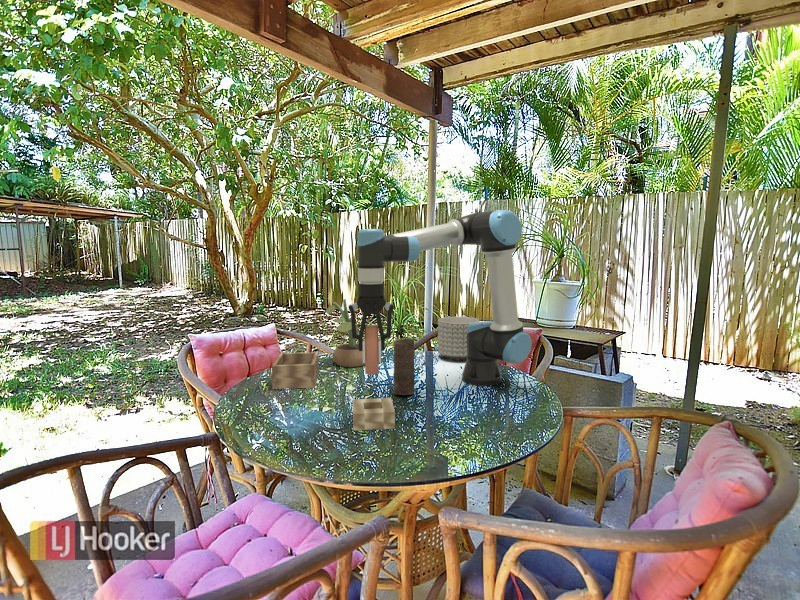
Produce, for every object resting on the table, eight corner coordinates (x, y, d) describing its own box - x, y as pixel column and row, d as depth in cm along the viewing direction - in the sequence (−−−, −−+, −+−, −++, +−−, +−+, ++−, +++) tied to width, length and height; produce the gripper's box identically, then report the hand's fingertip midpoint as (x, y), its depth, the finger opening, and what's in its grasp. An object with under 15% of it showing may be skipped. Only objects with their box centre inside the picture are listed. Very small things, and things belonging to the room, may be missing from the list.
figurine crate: (318, 373, 186) (318, 352, 184) (314, 388, 166) (314, 364, 165) (281, 374, 184) (280, 353, 183) (272, 389, 165) (271, 366, 164)
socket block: (391, 413, 141) (391, 397, 141) (394, 428, 129) (394, 411, 129) (353, 414, 140) (353, 399, 139) (353, 430, 128) (352, 413, 127)
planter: (436, 362, 201) (436, 322, 199) (439, 352, 220) (439, 316, 218) (479, 364, 198) (479, 323, 196) (478, 353, 217) (479, 316, 215)
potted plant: (340, 357, 212) (338, 294, 208) (376, 359, 207) (375, 295, 204) (319, 370, 191) (317, 300, 187) (358, 373, 186) (357, 301, 182)
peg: (378, 370, 135) (377, 325, 133) (379, 374, 131) (378, 327, 129) (365, 371, 134) (364, 325, 133) (365, 375, 130) (364, 327, 129)
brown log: (412, 398, 154) (412, 342, 152) (391, 397, 156) (391, 341, 153) (416, 391, 162) (415, 337, 159) (396, 390, 163) (395, 336, 161)
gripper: (398, 281, 134) (399, 357, 137) (341, 282, 132) (343, 359, 135) (401, 283, 127) (401, 363, 129) (341, 284, 125) (342, 365, 128)
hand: (371, 361), depth 132 cm, fingers closed on peg, 4 cm apart
